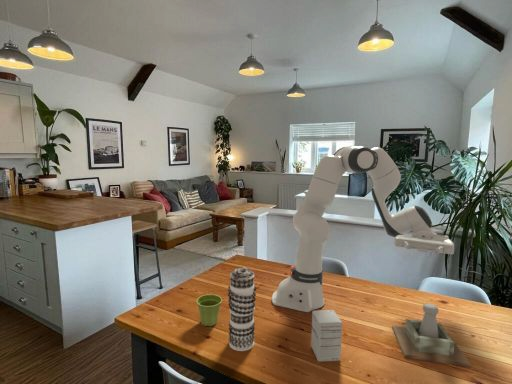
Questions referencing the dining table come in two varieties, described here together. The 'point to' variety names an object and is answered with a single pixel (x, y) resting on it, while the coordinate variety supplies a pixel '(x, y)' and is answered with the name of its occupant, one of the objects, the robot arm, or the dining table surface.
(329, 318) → the supplement box
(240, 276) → the decorative candle
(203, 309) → the plant pot
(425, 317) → the salt shaker
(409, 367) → the dining table surface
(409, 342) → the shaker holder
